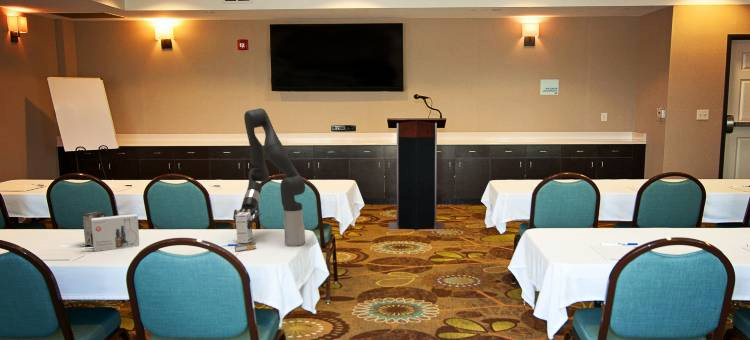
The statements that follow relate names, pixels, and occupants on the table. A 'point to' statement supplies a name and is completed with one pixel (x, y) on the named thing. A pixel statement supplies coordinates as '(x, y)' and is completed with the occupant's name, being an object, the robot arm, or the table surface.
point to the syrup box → (243, 227)
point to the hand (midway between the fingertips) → (242, 228)
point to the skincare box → (115, 232)
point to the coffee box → (90, 225)
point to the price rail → (245, 247)
